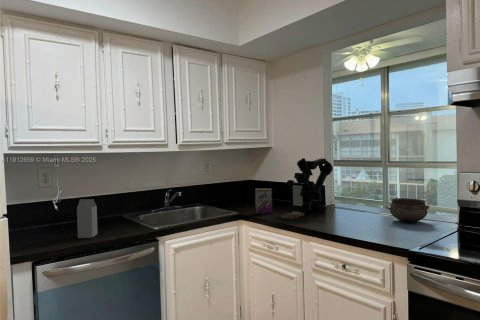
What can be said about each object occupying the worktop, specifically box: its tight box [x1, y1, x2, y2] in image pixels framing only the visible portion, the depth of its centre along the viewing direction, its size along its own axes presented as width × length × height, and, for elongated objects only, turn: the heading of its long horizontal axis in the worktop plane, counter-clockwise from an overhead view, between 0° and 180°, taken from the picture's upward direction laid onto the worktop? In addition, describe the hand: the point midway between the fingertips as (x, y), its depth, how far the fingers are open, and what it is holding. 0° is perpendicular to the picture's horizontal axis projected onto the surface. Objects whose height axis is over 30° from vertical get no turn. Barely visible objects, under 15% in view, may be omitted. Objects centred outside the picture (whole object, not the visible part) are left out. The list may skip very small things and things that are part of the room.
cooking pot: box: [386, 197, 430, 224], centre depth 181 cm, size 25×19×12 cm
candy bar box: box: [254, 188, 273, 215], centre depth 214 cm, size 11×5×16 cm, turn 84°
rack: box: [281, 211, 305, 220], centre depth 198 cm, size 13×8×2 cm, turn 138°
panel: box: [292, 185, 303, 207], centre depth 202 cm, size 2×6×12 cm, turn 49°
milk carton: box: [76, 198, 98, 239], centre depth 164 cm, size 7×7×19 cm
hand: (296, 195), depth 201 cm, fingers closed on panel, 5 cm apart
